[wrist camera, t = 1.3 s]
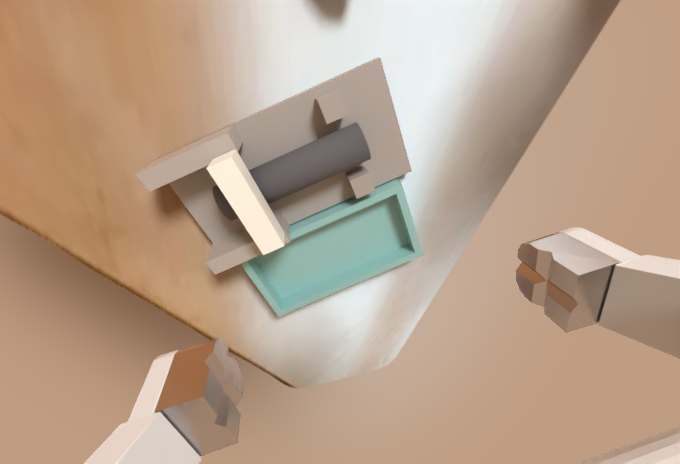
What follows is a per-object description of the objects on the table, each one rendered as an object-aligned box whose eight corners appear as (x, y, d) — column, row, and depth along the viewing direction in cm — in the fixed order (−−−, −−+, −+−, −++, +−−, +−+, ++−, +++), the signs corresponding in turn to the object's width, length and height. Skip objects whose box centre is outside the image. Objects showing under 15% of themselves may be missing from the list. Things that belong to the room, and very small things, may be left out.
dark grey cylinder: (352, 119, 28) (361, 125, 25) (364, 153, 30) (374, 163, 27) (216, 180, 29) (209, 194, 26) (236, 210, 30) (231, 227, 27)
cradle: (376, 58, 27) (393, 56, 23) (407, 167, 33) (425, 182, 28) (156, 158, 28) (135, 174, 24) (223, 249, 33) (215, 274, 29)
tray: (393, 175, 33) (401, 183, 30) (414, 243, 38) (423, 255, 35) (238, 244, 33) (234, 257, 31) (278, 302, 38) (278, 317, 36)
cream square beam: (235, 148, 24) (231, 156, 22) (284, 232, 28) (284, 245, 26) (212, 159, 24) (206, 168, 22) (264, 240, 28) (263, 255, 26)
